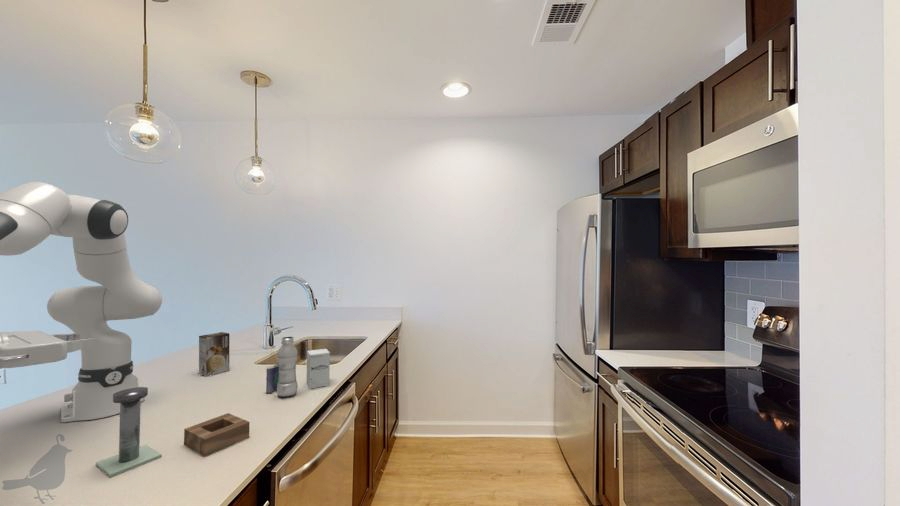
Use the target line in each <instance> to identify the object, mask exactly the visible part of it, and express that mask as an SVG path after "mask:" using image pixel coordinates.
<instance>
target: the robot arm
mask: <svg viewBox="0 0 900 506" xmlns="http://www.w3.org/2000/svg"><path fill="white" fill-rule="evenodd" d="M128 225H129V215H128V213H127V210H126V209H124V207H123V206H122V205H121V204H119V203H117V202H114V201H111V200H107V199H98V198H94V197H89V196H83V195H78V194H67V193H66V192H65V191H64V190H62V189H61V188H60V187H57V186H55V185H54V184H50V183H46V182H43V181H42V182H41V181H30V182H29V181H28V182H25V183H22V184H20V185H17V186H14V187H11V188H8V189H7V190H5V191H2V192H0V256H17V255H22V254H24V253H26V252H28V251H31V250H32V249H33V248H35V247H36V246H39V245H40V244H41V243H42V242H43V241H45V240H46V239H48V237H50V235H53V236H57V237H65V238H71V239H72V247H73V253H74V260H75V264H76V265H75V266H76V271H77V272H78V274H79V275H80V276H81V277H82V278H84V279H86V280H87V281H91V282H94V283H97V284H99V285H87V286H86V285H85V286H81V285H80V286H75V287H74V286H73V287H68V288H63V289H58V290H57V291H55V292H54V293H53V294H52V295H51V296H50V298H49V299H48V301H47V304H46V309H47V312H48V314H49V316H50V317H51V318H52V319H53V320H54V321H56V322H58V323H60V324H63V325H64V326H65V327H67V328H69V329H70V330H71V331H72V332H73V333H60V334H58V333H57V334H55V333H54V334H53V333H52V334H49V333H46V332H43V331H41V330H20V331H15V330H14V331H2V332H1V331H0V369H15V368H21V367H23V368H24V367H30V366H36V365H37V366H38V365H43V364H49V363H50V364H51V363H56V362H61V361H63V360H65V359H67V358H68V354H69V353H74V352H77V351H80V353H81V354H80V356H81V367H80V369H79V370H78V374H77V376H78V377H77V380H78V382H77V383H76V384H75V386H74V387H73V389H72V390H71V393H66V394H64V395H63V398H64V399H63V401H64V403H66V404H63V405H62V406H61V407H60V422H61V423H69V422H76V421H78V422H79V421H88V420H89V421H90V420H91V421H92V420H97V419H102V418H107V417H111V416H114V415H118V414H120V403H114V402H113V394H114V393H116V392H119V391H122V390H125V389H130V388H136V387H140V386H139V385H140V384H139V377H138V376H137V375H134V374H133V372H134V362H133V360H132V344H133V343H132V339H131V336H129V335H128V334H127V333H125V332H122V331H120V330H119V331H118V330H116V329H112V328H111V326H109V324H108V321H121V320H135V319H140V318H145V317H149V316H153V315H155V314H156V313H157V312H158V311H159V310H160V308H161V306H162V303H163V296H162V294H161V292H160V291H159V289H158V288H156V287H155V286H154V285H153V286H152V285H150V284H148V283H146V282H145V281H143V280H142V279H140V278H139V277H138V276H137V274H136V273H135V272H134V270H133V269H132V266H131V264H130V260H129V255H128V247H127V246H128V245H127V240H126V235H125V231H126V230H127V228H128ZM145 398H146V397H144V398H142V399H141V403H142V402H144V401H145V400H146V399H145Z"/></svg>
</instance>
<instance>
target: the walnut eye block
mask: <svg viewBox="0 0 900 506" xmlns="http://www.w3.org/2000/svg"><path fill="white" fill-rule="evenodd" d="M250 423H251V422H250V421H248V420H246V419H243V418H242V417H239V416H236V415H234V414H231V413H230V412H227V413H225V414H222V415H219V416H217V417H213V418H211V419H208V420H205V421H202V422H200V423H198V424H194V425H192V426H189V427H186V428H184V431H183V432H184V433H183V434H184V435H183V438H184V439H183V445H184V446H185V447H187V448H189V449H190V450H192V451H194V452H196V453H197V454H199V455H201V456H203V457H208V456H209V455H212V454H214V453H216V452H219V451H221V450H223V449H225V448H227V447H230V446H233V445H234V444H237V443H239V442H241V441H243V440H246V439H249V438H250Z"/></svg>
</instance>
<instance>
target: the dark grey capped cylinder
mask: <svg viewBox="0 0 900 506" xmlns="http://www.w3.org/2000/svg"><path fill="white" fill-rule="evenodd" d="M148 393H149V388H148V387H146V386H139V387H136V388H130V389H125V390H122V391H119V392H116V393H114V394H113V402H114V403H120V413H119V435H118V437H119V438H118V439H119V441H118V454H119V462H120V463H125V462H129V461H132V460H135V459H136V458H138V457H139V447H140V444H141V443H140V437H141V433H140V432H141V404H142V402H141V399H142V398H144V397H145V398H146V397H147V396H148Z"/></svg>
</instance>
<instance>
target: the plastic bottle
mask: <svg viewBox="0 0 900 506" xmlns="http://www.w3.org/2000/svg"><path fill="white" fill-rule="evenodd" d="M294 341H295V340H294V336H283V337H281V346H280V347H279V349H278V350H277V353H276V359H277V361H278V366H279V377H278V384H277V391H276V394H277V395H278V396H279V397H281V398H286V397H291V396H294V395H295V394H296V393H297V391H298V387H299V386H298V381H297V371H296V369H297V368H296V367H297V360H298V354H299V353H298V349H297V348H296V346H295V345H294Z"/></svg>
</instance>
